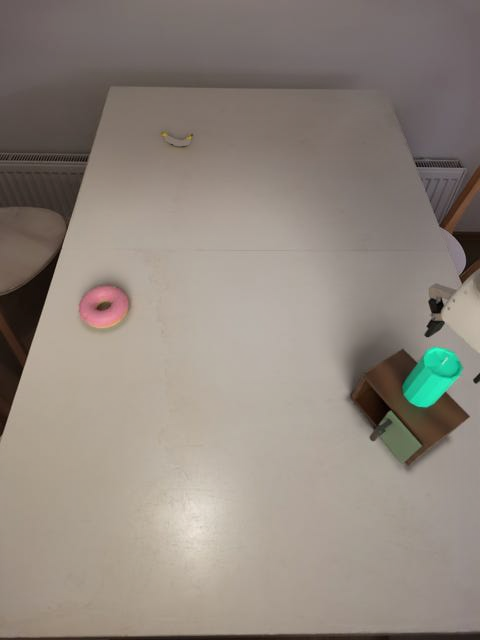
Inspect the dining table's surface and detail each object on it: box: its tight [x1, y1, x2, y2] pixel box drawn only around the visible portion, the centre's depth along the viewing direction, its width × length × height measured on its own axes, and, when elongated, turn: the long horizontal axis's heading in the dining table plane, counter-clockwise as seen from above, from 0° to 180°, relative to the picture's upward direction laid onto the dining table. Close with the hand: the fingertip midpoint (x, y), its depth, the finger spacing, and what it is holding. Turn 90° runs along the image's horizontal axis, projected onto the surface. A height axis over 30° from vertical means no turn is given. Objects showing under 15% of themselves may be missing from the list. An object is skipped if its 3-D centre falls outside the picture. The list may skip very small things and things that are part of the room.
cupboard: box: [350, 348, 471, 467], centre depth 80 cm, size 10×16×10 cm, turn 33°
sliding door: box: [368, 410, 422, 464], centre depth 76 cm, size 4×7×9 cm, turn 33°
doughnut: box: [77, 284, 130, 329], centre depth 96 cm, size 11×11×4 cm
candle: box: [402, 346, 464, 407], centre depth 71 cm, size 6×6×12 cm
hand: (455, 354), depth 67 cm, fingers open, 9 cm apart
